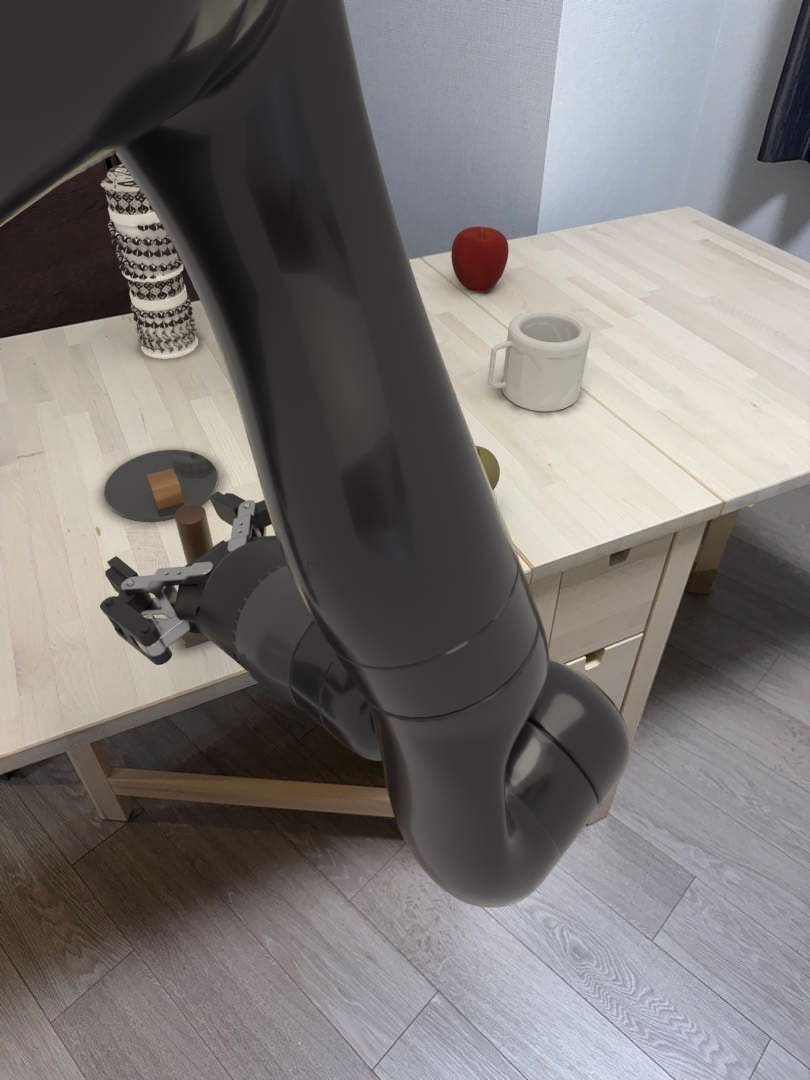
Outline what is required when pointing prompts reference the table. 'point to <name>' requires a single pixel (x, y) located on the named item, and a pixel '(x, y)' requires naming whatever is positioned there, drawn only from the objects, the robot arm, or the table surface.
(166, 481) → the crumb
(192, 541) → the wooden peg
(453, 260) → the apple
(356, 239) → the robot arm
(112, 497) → the plate
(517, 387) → the mug
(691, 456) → the table surface
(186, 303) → the white patterned cylinder
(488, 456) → the light bulb
